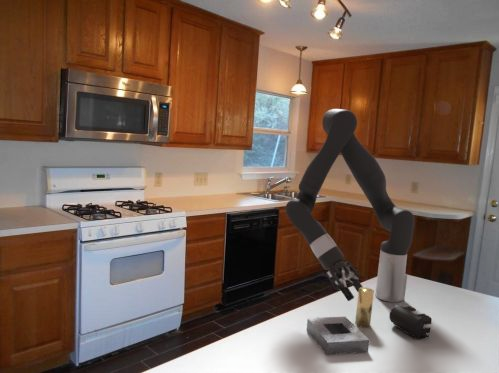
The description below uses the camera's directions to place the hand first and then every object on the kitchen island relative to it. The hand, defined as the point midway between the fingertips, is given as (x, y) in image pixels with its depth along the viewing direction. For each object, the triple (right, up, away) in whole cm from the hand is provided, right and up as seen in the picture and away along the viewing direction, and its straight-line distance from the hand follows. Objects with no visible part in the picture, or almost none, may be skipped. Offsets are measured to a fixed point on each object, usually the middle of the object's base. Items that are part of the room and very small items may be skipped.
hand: (357, 295), depth 125 cm
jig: (-9, -9, -12) cm, 18 cm away
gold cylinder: (+2, -9, 0) cm, 9 cm away
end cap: (+15, -10, -3) cm, 18 cm away
